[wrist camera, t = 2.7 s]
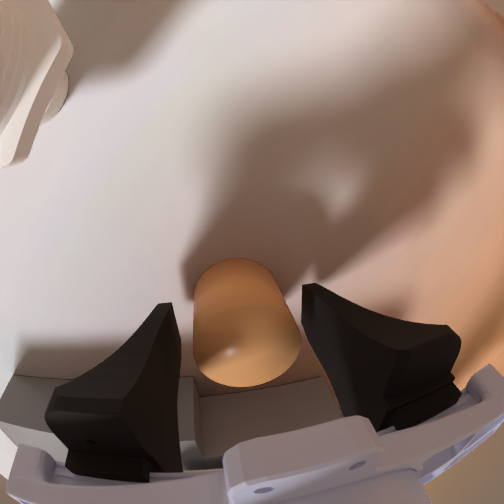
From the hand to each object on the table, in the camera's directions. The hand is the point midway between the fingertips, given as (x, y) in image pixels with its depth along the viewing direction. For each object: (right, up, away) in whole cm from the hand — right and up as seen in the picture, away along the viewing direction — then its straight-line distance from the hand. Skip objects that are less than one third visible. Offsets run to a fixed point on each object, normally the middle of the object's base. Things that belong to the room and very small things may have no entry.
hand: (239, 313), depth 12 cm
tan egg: (0, +1, +1) cm, 2 cm away
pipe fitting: (-9, +10, -4) cm, 14 cm away
